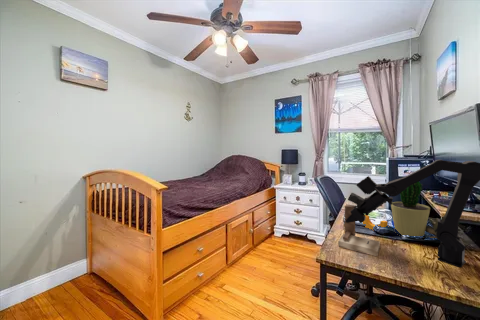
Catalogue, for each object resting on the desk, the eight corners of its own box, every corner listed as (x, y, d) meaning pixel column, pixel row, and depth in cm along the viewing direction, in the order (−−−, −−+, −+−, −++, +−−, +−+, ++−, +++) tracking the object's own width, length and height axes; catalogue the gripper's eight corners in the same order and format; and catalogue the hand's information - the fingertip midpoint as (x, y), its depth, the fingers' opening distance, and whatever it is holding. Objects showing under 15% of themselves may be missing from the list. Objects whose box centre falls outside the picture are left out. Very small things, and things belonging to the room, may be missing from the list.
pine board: (379, 246, 93) (379, 241, 93) (377, 256, 85) (377, 250, 85) (343, 238, 103) (343, 233, 102) (338, 246, 95) (338, 240, 95)
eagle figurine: (445, 237, 99) (421, 229, 104) (451, 228, 94) (425, 221, 100) (446, 250, 94) (420, 242, 99) (452, 242, 90) (425, 233, 95)
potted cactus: (399, 239, 100) (400, 177, 98) (385, 227, 115) (385, 173, 113) (437, 242, 96) (439, 178, 94) (417, 229, 111) (419, 173, 109)
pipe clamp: (389, 233, 108) (389, 220, 107) (384, 234, 106) (384, 222, 106) (367, 225, 119) (367, 214, 118) (362, 226, 117) (362, 215, 117)
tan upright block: (355, 237, 103) (355, 205, 102) (350, 247, 93) (350, 212, 92) (346, 235, 105) (346, 204, 104) (340, 244, 96) (340, 210, 95)
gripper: (362, 185, 106) (339, 203, 114) (355, 192, 91) (329, 212, 99) (380, 202, 102) (355, 220, 109) (376, 212, 87) (347, 232, 95)
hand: (346, 220), depth 103 cm, fingers closed on tan upright block, 3 cm apart
